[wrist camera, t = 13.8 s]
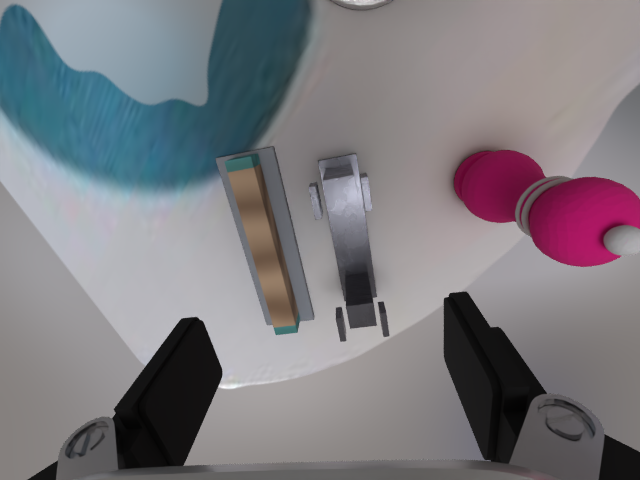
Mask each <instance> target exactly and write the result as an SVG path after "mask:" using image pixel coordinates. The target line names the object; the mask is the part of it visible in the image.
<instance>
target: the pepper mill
mask: <svg viewBox="0 0 640 480" xmlns="http://www.w3.org/2000/svg"><path fill="white" fill-rule="evenodd" d="M454 188H455V191H456V194H457V195H458V197H459V198H460V199H461V200H462V201H463V202H464V203H465V205H466V207H467V208H468V210H469V211H470V212H471V213H473V214H474V215H475V216H477V217H479V218H481V219H484V220H486V221H490V222H497V223H506V222H512V221H515V222H517V225H518V227H519V228H520V229H521V231H523V232H524V233H525V234H527V235H529V236H530V237H532V239H533V242H534V243H535V245H536V247H537V248H539V250H540V251H541V252H542V253H544V254H545V255H547V256H549V257H550V258H552V259H554V260H556V261H558V262H560V263H564V264H567V265H572V266H580V267H587V266H596V265H601V264H605V263H608V262H611V261H613V260H615V259H617V258H620V257H621V256H630V255H635V254H637V253H639V252H640V199H639V198H638V196H637V195H636V194H635V193H634V192H633V191H632V190H630V189H629V188H627V187H625V186H624V185H622V184H620V183H617V182H614V181H612V180H609V179H604V178H598V177H583V178H577V179H571V178H568V177H564V176H553V177H548V178H547V177H545V176H544V174H543V171H542V169H541V167H540V166H539V165H538V164H537V163H536V162H535V161H534V160H533V159H532V158H530V157H529V156H527V155H524V154H522V153H519V152H516V151H511V150H500V151H496V152H491V151H484V152H479V153H476V154H474V155H472V156H470V157H469V158H467V159H466V160H465V161H464V162H463V163H462V164H461V165H460V166H459V168H458V170H457V172H456V174H455V178H454Z"/></svg>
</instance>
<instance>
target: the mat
mask: <svg viewBox="0 0 640 480" xmlns="http://www.w3.org/2000/svg"><path fill="white" fill-rule="evenodd" d="M257 153H258V156H259V160H260V164H261V168H262V171H263V175H264V179H265V183H266V187H267V191H268V195H269V199H270V203H271V207H272V210H273V214H274V218H275V222H276V226H277V230H278V234H279V238H280V242H281V246H282V249H283V253H284V257H285V261H286V265H287V269H288V273H289V277H290V281H291V285H292V288H293V292H294V296H295V300H296V304H297V308H298V312H299V316H300V321H307V320H314V313H313V309H312V305H311V301H310V296H309V292H308V288H307V284H306V280H305V275H304V271H303V267H302V263H301V259H300V254H299V250H298V246H297V242H296V238H295V233H294V229H293V225H292V221H291V216H290V212H289V208H288V204H287V200H286V195H285V191H284V187H283V183H282V179H281V174H280V170H279V166H278V162H277V158H276V153H275V149H274V147H269V148H264V149H259V150H254V151H249V152H244V153H239V154H234V155H229V156H224V157H219V158H215V159H216V162H217V165H218V168H219V172H220V175H221V178H222V181H223V184H224V188H225V191H226V194H227V197H228V201H229V204H230V207H231V210H232V214H233V217H234V220H235V223H236V227H237V230H238V233H239V236H240V240H241V243H242V246H243V249H244V253H245V256H246V259H247V262H248V266H249V269H250V272H251V275H252V278H253V282H254V285H255V288H256V291H257V295H258V298H259V301H260V304H261V308H262V311H263V314H264V317H265V321H266V324H267V325H273V324H272V320H271V317H270V314H269V310H268V307H267V303H266V300H265V297H264V293H263V290H262V287H261V283H260V280H259V277H258V273H257V270H256V267H255V263H254V260H253V256H252V253H251V250H250V246H249V243H248V240H247V236H246V233H245V230H244V226H243V223H242V220H241V216H240V213H239V209H238V206H237V203H236V199H235V196H234V193H233V189H232V186H231V183H230V179H229V176H228V173H227V169H226V166H225V162H224V161H227V160H230V159H232V158H237V157H242V156H247V155H252V154H257Z"/></svg>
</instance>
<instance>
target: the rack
mask: <svg viewBox="0 0 640 480" xmlns="http://www.w3.org/2000/svg"><path fill="white" fill-rule="evenodd" d="M318 164H319V169H320V174H321V180H322V185H323V190H324V195H325V201H326V206H327V211H328V216H329V222H330V227H331V232H332V237H333V243H334V248H335V253H336V258H337V264H338V269H339V274H340V279H341V285H342V290H343V295H344V300H345V301H346V309H347V314H348V319H349V325H350V329H351V328H359V327H368V326H376V325H377V324H376V317H375V310H374V304H373V298H374V297H377V294H376V287H375V280H374V273H373V266H372V260H371V253H370V246H369V239H368V232H367V225H366V218H365V211H370V210H372V204H371V197H370V189H369V182H368V176H367V174H366V173H363V174H360V177H359V170H358V163H357V156H356V153H355V154H350V155H345V156H339V157H334V158H329V159H324V160H318ZM360 181H361V184H360ZM361 188H362V191H361ZM309 192H310V196H311V201H312V206H313V211H314V216H315V220H316V219H322V214H323V210H322V205H321V200H320V195H319V190H318V185H317V182H314V183H310V186H309ZM362 195H363V197H362ZM363 202H364V204H363ZM364 207H365V211H364ZM378 306H379V313H380V320H381V326H382V331H383V336H384V337H387V336H389V330H388V322H387V315H386V310H385V306H384V302H378ZM336 322H337V326H338V331H339V336H340V341H341V342H342V341H346V327H345V322H344V317H343V312H342V307H337V308H336Z"/></svg>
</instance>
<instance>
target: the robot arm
mask: <svg viewBox="0 0 640 480" xmlns="http://www.w3.org/2000/svg"><path fill="white" fill-rule="evenodd" d="M331 1H333V2H335V3H337V4H339V5H340V6H343V7H347V8H350V9H358V10H367V9H372V8H377V7H380V6H382V5H385V4H387V3H389V2H391V1H393V0H331ZM444 358H445V362H446V365H447V368H448V370H449V373H450V375H451V378H452V380H453V383H454V385H455V388H456V391H457V393H458V396H459V398H460V400H461V403H462V406H463V408H464V411H465V413H466V416H467V418H468V421H469V423H470V426H471V428H472V431H473V433H474V436H475V438H476V441H477V443H478V446H479V448H480V451H481V453H482V455H483V458H484V459H485V460H491V461H478V460H372V461H327V462H292V463H291V462H290V463H257V464H256V463H255V464H224V465H195V466H183V465H184V463H185V461H186V459H187V457H188V454H189V452H190V449H191V447H192V445H193V443H194V440H195V438H196V436H197V434H198V431H199V429H200V427H201V424H202V422H203V420H204V418H205V415H206V413H207V411H208V408H209V406H210V404H211V402H212V399H213V397H214V394H215V392H216V390H217V388H218V385H219V383H220V381H221V378H222V368H221V365H220V363H219V360H218V358H217V355H216V353H215V350H214V348H213V345H212V342H211V340H210V337H209V335H208V332H207V330H206V327H205V325H204V323H203V321H202V320H199V318H197V317H191V318H183V319H181V320H180V321H179V322H178V324H177V325H176V326H175V328H174V329H173V330H172V332H171V333H170V334H169V336H168V337H167V338H166V340H165V341H164V342H163V344H162V345H161V347H160V348H159V349H158V351H157V352H156V353H155V355H154V356H153V357H152V359H151V360H150V361H149V363H148V364H147V365H146V367H145V368H144V370H143V371H142V372H141V373H140V375H139V376H138V378H137V379H136V380H135V382H134V383H133V384H132V386H131V387H130V388H129V390H128V391H127V392H126V394H125V395H124V396H123V398H122V399H121V400H120V402H119V403H118V404H117V406H116V407H115V408H114V410H115V412H116V414H115V415H114V417H113V418H110V417H100V418H96V419H94V420H91V421H89V422H87V423H86V424H84V425H83V426H81V427H80V428H78V429H77V430H76V431H75V432H74V433H73V434H72V435H71V436H70V437H69V438H68V439H67V440H66V441H65V443H64V444H63V446H62V448H61V450H60V453H59V457H58V461H56V462H55V463H53V464H51V465H50V466H48V467H47V468H45V469H44V470H42V471H41V472H39V473H37V474H36V475H34V476H33V477H31V478H30V479H28V480H640V452H638V451H637V450H634V449H632V448H631V447H629V446H627V445H625V444H623V443H621V442H619V441H617V440H615V439H613V438H611V437H609V436H607V435H605V434H604V429H603V427H602V424H601V423H600V421H599V419H598V418H597V417H596V416H595V415H594V414H593V413H592V412H591V411H590V410H589V409H588V408H586V407H585V406H584V405H582V404H581V403H579V402H577V401H575V400H573V399H571V398H569V397H566V396H562V395H558V394H547V393H546V391H545V390H544V389H543V387H542V386H541V384H540V383H539V381H538V380H537V379H536V377H535V376H534V374H533V373H532V372H531V370H530V369H529V367H528V366H527V365H526V363H525V362H524V360H523V359H522V357H521V356H520V354H519V353H518V352H517V350H516V349H515V348H514V346H513V345H512V343H511V342H510V340H509V339H508V337H507V336H506V335H505V333H504V332H503V331H502V329H501V328H499V327H490V326H489V324H488V323H487V321H486V320H485V318H484V317H483V315H482V314H481V312H480V311H479V309H478V308H477V306H476V305H475V303H474V301H473V300H472V299H471V297H470V295H469V294H468V293H467V292H456V293H450V294H449V297H446V298H444Z"/></svg>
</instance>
